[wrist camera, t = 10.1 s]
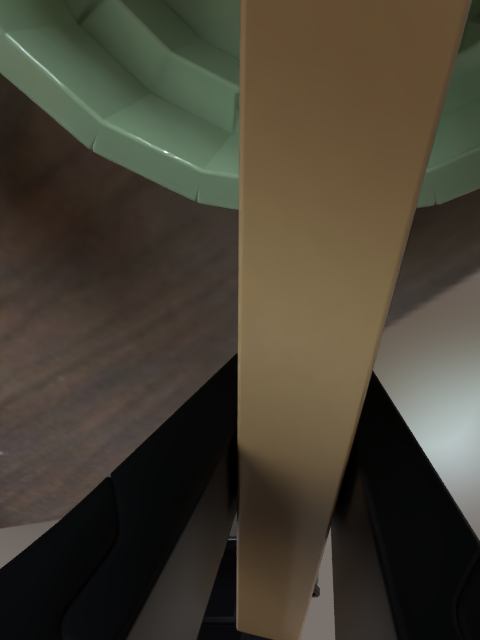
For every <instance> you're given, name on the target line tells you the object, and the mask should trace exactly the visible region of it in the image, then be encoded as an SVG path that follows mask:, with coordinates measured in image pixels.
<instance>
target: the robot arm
mask: <svg viewBox="0 0 480 640" xmlns="http://www.w3.org/2000/svg"><path fill="white" fill-rule="evenodd" d="M237 423H238V352H237V353H236V354H235V355H234V356H233V357H232V358H231V359H230V360H229V361H228V362H227V363H226V364H225V365H224V366H223V367H222V368H221V369H220V370H219V371H218V372H217V373H216V374H214V375H213V376H212V377H211V378H210V379H209V380H208V381H207V382H206V383H205V384H204V385H203V386H202V387H201V388H200V389H199V390H198V391H197V392H196V393H195V394H194V395H192V396H191V397H190V398H189V399H188V400H187V401H186V402H185V403H184V404H183V405H182V406H181V407H180V408H179V409H178V410H177V411H176V412H175V413H174V414H173V415H172V416H170V417H169V418H168V419H167V420H166V421H165V422H164V423H163V424H162V425H161V426H160V427H159V428H158V429H157V430H156V431H155V432H154V433H153V434H152V435H151V436H150V437H148V438H147V439H146V440H145V441H144V442H143V443H142V444H141V445H140V446H139V447H138V448H137V449H136V450H135V451H134V452H133V453H132V454H131V455H130V456H129V457H128V458H126V459H125V460H124V461H123V462H122V463H121V464H120V465H119V466H118V467H117V468H116V469H115V470H114V471H113V472H112V473H111V478H110V477H106V478H105V479H104V480H103V481H102V482H101V483H100V484H99V485H98V486H97V487H96V488H95V489H94V490H93V491H92V492H91V493H90V494H88V495H87V496H86V497H85V498H84V499H83V500H82V501H81V502H80V503H79V504H77V505H76V506H75V507H74V508H73V509H72V510H71V511H70V512H69V513H68V514H66V515H65V516H64V517H63V518H62V519H61V520H60V521H59V522H58V523H56V524H55V525H54V526H53V527H52V528H50V529H49V530H48V531H47V532H46V533H44V534H43V535H42V536H41V537H39V538H38V539H37V540H36V541H34V542H33V543H32V544H31V545H30V546H28V547H27V548H26V549H25V550H24V551H22V552H21V553H20V554H19V555H18V556H16V557H15V558H14V559H12V560H11V561H10V562H9V563H7V564H6V565H5V566H4V567H2V568H1V569H0V640H273V639H269V638H265V637H261V636H257V635H253V634H249V633H245V632H241V631H238V630H237V628H236V604H237V546H231V547H225V546H226V543H227V540H228V537H229V533H230V530H231V527H232V524H233V521H234V518H235V514H236V511H237ZM331 539H332V540H331V541H332V565H333V588H334V589H333V591H334V615H335V639H336V640H480V540H479V539H478V537H477V536H476V534H475V532H474V531H473V529H472V528H471V526H470V525H469V523H468V521H467V520H466V518H465V517H464V515H463V513H462V512H461V510H460V509H459V507H458V505H457V504H456V502H455V501H454V499H453V497H452V496H451V494H450V493H449V491H448V489H447V488H446V486H445V485H444V483H443V482H442V480H441V478H440V477H439V475H438V473H437V472H436V471H435V469H434V467H433V466H432V464H431V463H430V461H429V459H428V458H427V456H426V455H425V453H424V451H423V450H422V448H421V446H420V445H419V444H418V442H417V440H416V438H415V437H414V435H413V434H412V432H411V430H410V429H409V427H408V426H407V424H406V422H405V421H404V419H403V418H402V416H401V415H400V413H399V411H398V410H397V408H396V407H395V405H394V403H393V402H392V400H391V399H390V397H389V396H388V394H387V392H386V391H385V389H384V388H383V386H382V384H381V383H380V381H379V379H378V378H377V376H376V375H375V373H374V371H372V374H371V378H370V382H369V385H368V389H367V393H366V397H365V400H364V404H363V408H362V411H361V415H360V419H359V423H358V426H357V430H356V434H355V438H354V441H353V445H352V449H351V452H350V456H349V460H348V464H347V467H346V471H345V475H344V478H343V482H342V486H341V490H340V493H339V497H338V501H337V504H336V508H335V512H334V516H333V519H332V523H331ZM319 595H320V588H319V587H318V586H317V584H316V583H315V586H314V590H313V594H312V597H318V596H319Z"/></svg>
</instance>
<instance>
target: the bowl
mask: <svg viewBox="0 0 480 640" xmlns="http://www.w3.org/2000/svg"><path fill="white" fill-rule="evenodd" d="M239 61H240V0H0V73H1V74H2V75H3V76H4V77H5V78H7V79H8V80H9V81H10V82H11V83H12V84H14V85H15V86H16V87H17V88H18V89H19V90H20V91H22V92H23V93H24V94H25V95H26V96H27V97H29V98H30V99H31V100H32V101H33V102H34V103H36V104H37V105H38V106H39V107H40V108H41V109H43V110H44V111H45V112H46V113H47V114H48V115H50V116H51V117H52V118H53V119H54V120H55V121H57V122H58V123H59V124H60V125H61V126H62V127H63V128H65V129H66V130H67V131H68V132H69V133H70V134H72V135H73V136H74V137H75V138H76V139H77V140H79V141H80V142H81V143H82V144H83V145H84V146H86V147H87V148H88V149H93V152H94V153H96V154H98V155H100V156H102V157H104V158H106V159H108V160H110V161H112V162H114V163H116V164H118V165H120V166H122V167H124V168H126V169H129V170H131V171H133V172H135V173H137V174H139V175H141V176H143V177H145V178H147V179H149V180H151V181H153V182H155V183H157V184H159V185H161V186H163V187H165V188H167V189H169V190H172V191H174V192H176V193H178V194H180V195H182V196H184V197H186V198H188V199H190V200H192V201H198V203H199V204H204V205H210V206H216V207H222V208H228V209H234V210H239ZM479 188H480V0H472V3H471V6H470V10H469V14H468V17H467V21H466V25H465V29H464V32H463V36H462V40H461V43H460V47H459V51H458V55H457V58H456V62H455V66H454V69H453V73H452V77H451V81H450V84H449V88H448V92H447V95H446V99H445V103H444V107H443V110H442V114H441V118H440V122H439V125H438V129H437V133H436V136H435V140H434V144H433V148H432V151H431V155H430V159H429V162H428V166H427V170H426V174H425V177H424V181H423V185H422V188H421V192H420V196H419V200H418V203H417V207H416V208H420V207H428V206H433V205H434V204H435V203H436V204H437V205H440V204H443V203H445V202H447V201H450V200H452V199H455V198H457V197H460V196H462V195H465V194H467V193H470V192H472V191H475V190H477V189H479Z"/></svg>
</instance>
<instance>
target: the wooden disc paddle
mask: <svg viewBox="0 0 480 640" xmlns="http://www.w3.org/2000/svg"><path fill="white" fill-rule="evenodd" d="M471 3H472V0H240V61H239V242H238V423H237V604H236V628H237V630H238V631H241V632H245V633H249V634H253V635H257V636H261V637H265V638H269V639H273V640H300V638H301V635H302V631H303V627H304V623H305V620H306V616H307V612H308V608H309V604H310V601H311V597H312V594H313V590H314V586H315V583H316V579H317V575H318V571H319V568H320V564H321V560H322V556H323V553H324V548H325V545H326V542H327V538H328V534H329V530H330V527H331V523H332V519H333V516H334V512H335V508H336V504H337V501H338V497H339V493H340V490H341V486H342V482H343V478H344V475H345V471H346V467H347V464H348V460H349V456H350V452H351V449H352V445H353V441H354V438H355V434H356V430H357V426H358V423H359V419H360V415H361V411H362V408H363V404H364V400H365V397H366V393H367V389H368V385H369V382H370V378H371V374H372V371H373V367H374V363H375V359H376V356H377V352H378V348H379V344H380V341H381V337H382V333H383V330H384V326H385V322H386V319H387V315H388V311H389V307H390V304H391V300H392V296H393V293H394V289H395V285H396V281H397V278H398V274H399V270H400V266H401V263H402V259H403V255H404V252H405V248H406V244H407V240H408V237H409V233H410V229H411V226H412V222H413V218H414V214H415V211H416V207H417V203H418V200H419V196H420V192H421V188H422V185H423V181H424V177H425V174H426V170H427V166H428V162H429V159H430V155H431V151H432V148H433V144H434V140H435V136H436V133H437V129H438V125H439V122H440V118H441V114H442V110H443V107H444V103H445V99H446V95H447V92H448V88H449V84H450V81H451V77H452V73H453V69H454V66H455V62H456V58H457V55H458V51H459V47H460V43H461V40H462V36H463V32H464V29H465V25H466V21H467V17H468V14H469V10H470V6H471Z"/></svg>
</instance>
